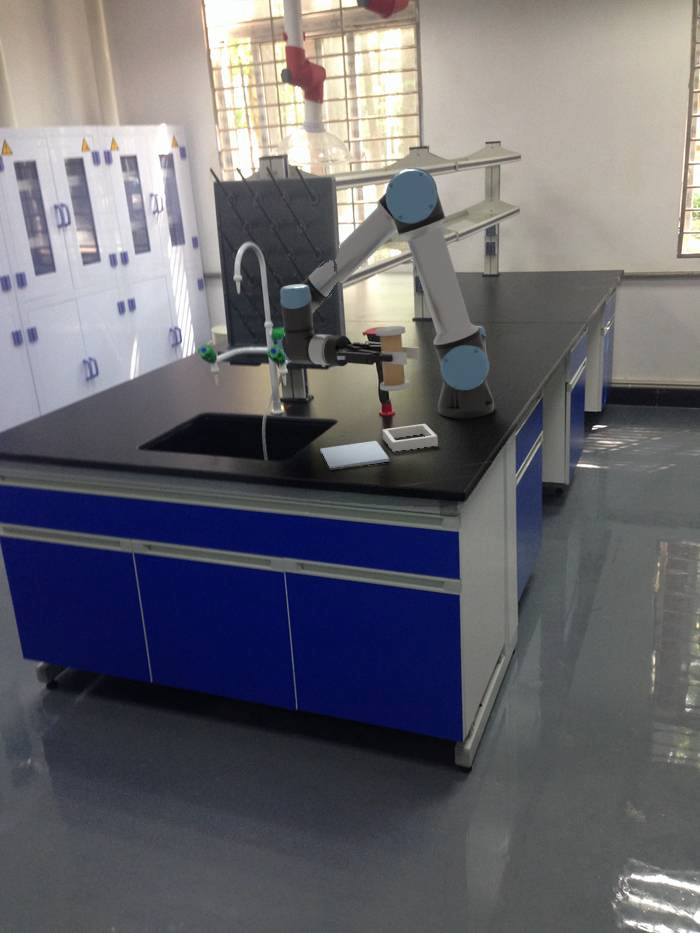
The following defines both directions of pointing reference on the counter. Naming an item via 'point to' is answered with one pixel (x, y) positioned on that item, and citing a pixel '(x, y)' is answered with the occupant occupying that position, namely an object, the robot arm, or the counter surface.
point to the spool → (391, 372)
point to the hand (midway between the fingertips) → (412, 355)
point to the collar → (411, 443)
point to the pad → (354, 454)
